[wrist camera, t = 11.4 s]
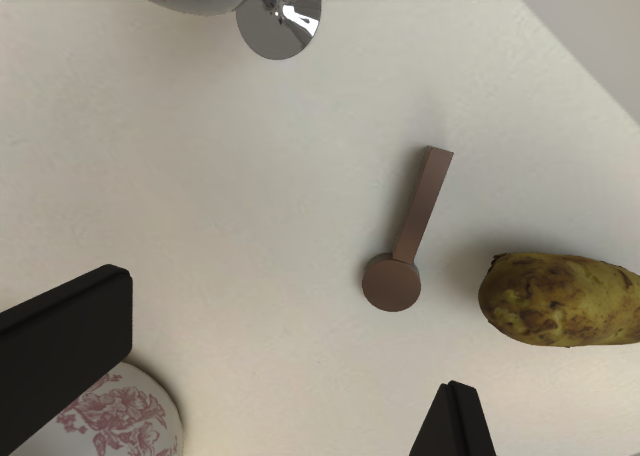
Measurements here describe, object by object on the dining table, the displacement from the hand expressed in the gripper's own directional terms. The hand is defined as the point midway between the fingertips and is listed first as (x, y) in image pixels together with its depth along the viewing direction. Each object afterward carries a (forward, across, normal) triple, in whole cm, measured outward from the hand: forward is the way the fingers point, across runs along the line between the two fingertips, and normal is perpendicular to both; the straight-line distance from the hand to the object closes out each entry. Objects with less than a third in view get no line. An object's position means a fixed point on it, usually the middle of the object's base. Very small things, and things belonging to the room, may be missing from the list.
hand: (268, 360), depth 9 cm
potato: (+20, -17, +2) cm, 27 cm away
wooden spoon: (+20, -5, +1) cm, 21 cm away
